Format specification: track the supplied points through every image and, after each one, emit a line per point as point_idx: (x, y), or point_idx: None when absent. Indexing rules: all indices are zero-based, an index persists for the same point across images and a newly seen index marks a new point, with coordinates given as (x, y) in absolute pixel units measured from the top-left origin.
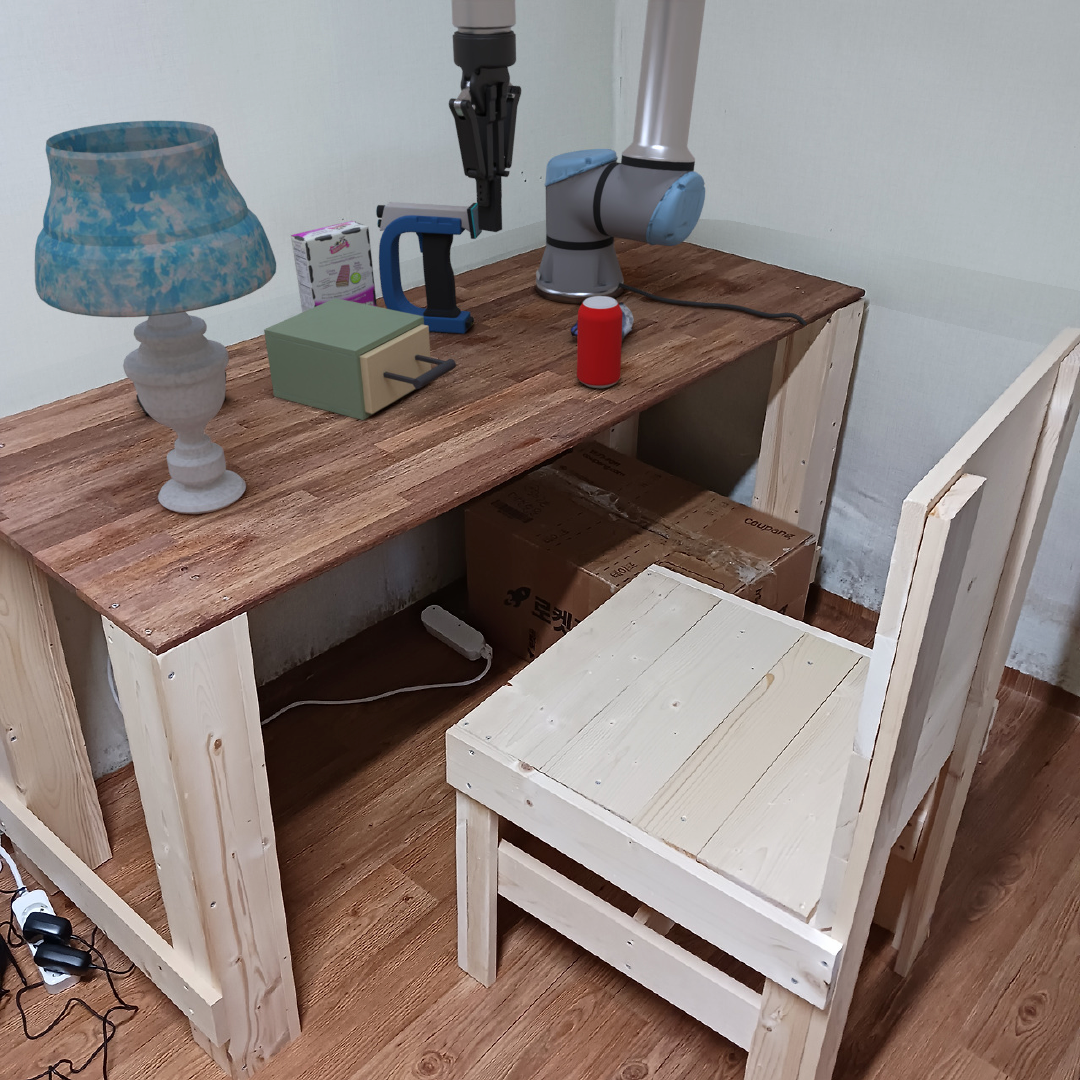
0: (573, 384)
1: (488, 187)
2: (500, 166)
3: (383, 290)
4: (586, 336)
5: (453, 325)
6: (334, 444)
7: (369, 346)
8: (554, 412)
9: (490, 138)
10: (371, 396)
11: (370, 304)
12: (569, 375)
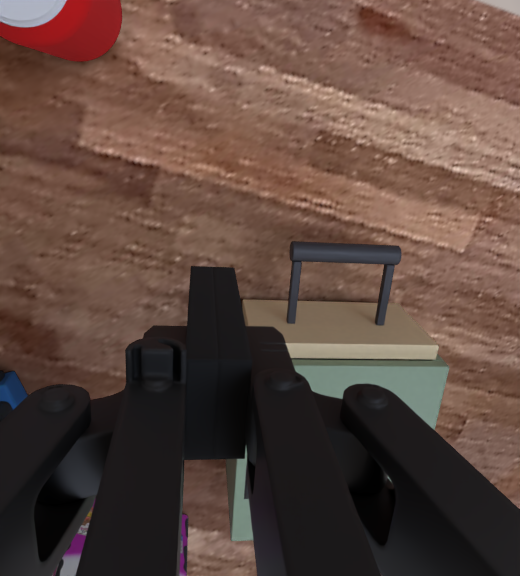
0: (111, 62)
1: (265, 366)
2: (171, 401)
3: None
4: (102, 2)
5: (18, 394)
6: (477, 299)
7: (410, 364)
8: (248, 37)
9: (323, 567)
10: (406, 314)
11: (83, 530)
12: (75, 92)
